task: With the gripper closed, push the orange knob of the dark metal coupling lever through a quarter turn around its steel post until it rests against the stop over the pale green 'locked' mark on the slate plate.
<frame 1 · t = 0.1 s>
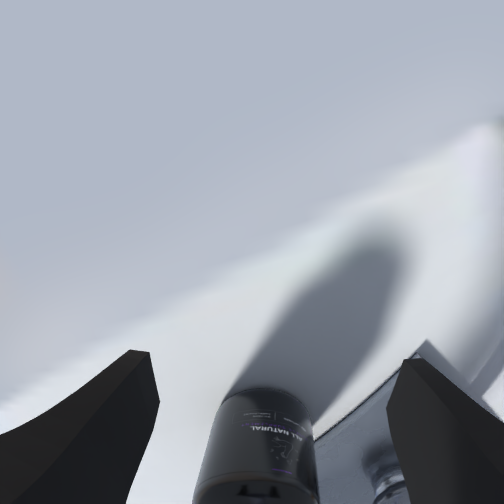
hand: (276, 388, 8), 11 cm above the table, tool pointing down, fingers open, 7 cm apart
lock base: (390, 470, 21), on the table
supplement bottle: (261, 419, 21), on the table
coupling: (434, 490, 16), point 5 cm above the table, hinge at 0.0°
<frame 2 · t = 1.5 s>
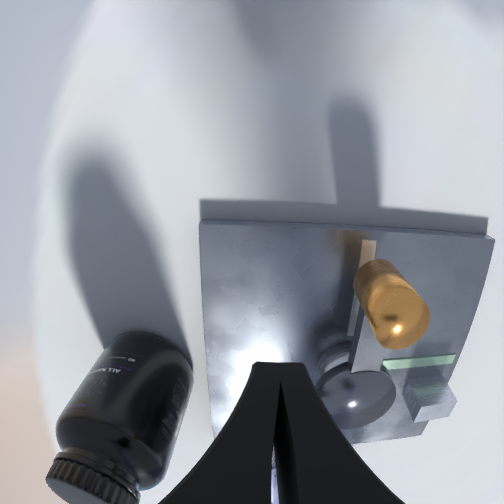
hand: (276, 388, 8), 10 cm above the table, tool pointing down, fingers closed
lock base: (343, 356, 20), on the table
supplement bottle: (150, 365, 22), on the table
coupling: (370, 371, 15), point 5 cm above the table, hinge at 0.0°
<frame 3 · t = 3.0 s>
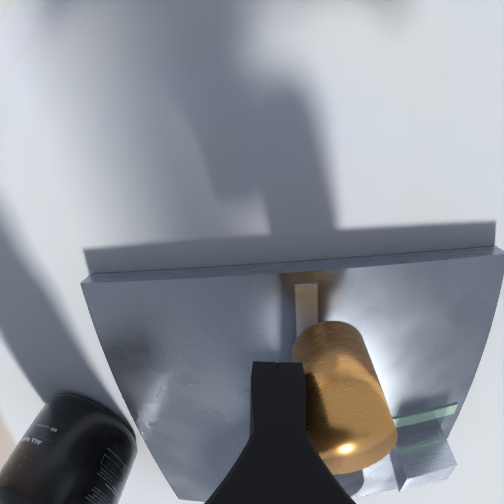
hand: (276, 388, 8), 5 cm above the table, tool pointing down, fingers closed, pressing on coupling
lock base: (304, 419, 15), on the table
supplement bottle: (93, 424, 17), on the table
coupling: (319, 468, 9), point 5 cm above the table, hinge at 4.5°, touching gripper
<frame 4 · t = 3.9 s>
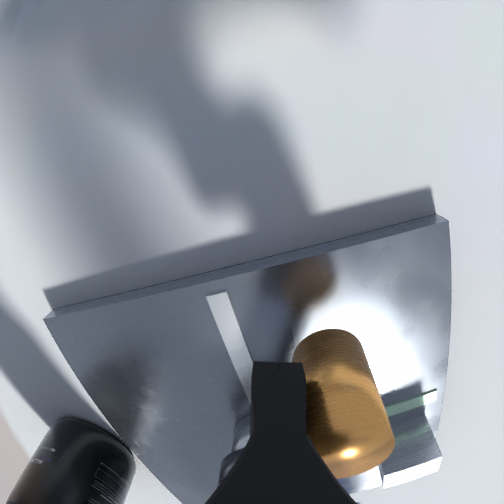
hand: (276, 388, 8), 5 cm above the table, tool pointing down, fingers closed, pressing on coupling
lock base: (273, 421, 15), on the table
supplement bottle: (95, 444, 18), on the table
coupling: (293, 471, 10), point 5 cm above the table, hinge at 29.0°, touching gripper
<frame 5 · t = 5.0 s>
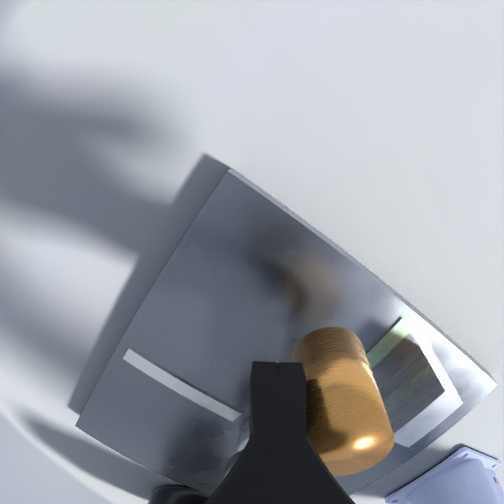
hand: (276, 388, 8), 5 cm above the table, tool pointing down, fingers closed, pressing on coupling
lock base: (278, 421, 15), on the table
supplement bottle: (192, 500, 20), on the table
coupling: (296, 470, 10), point 5 cm above the table, hinge at 65.4°, touching gripper
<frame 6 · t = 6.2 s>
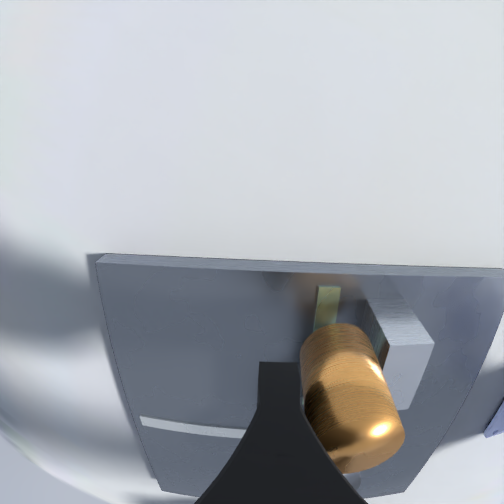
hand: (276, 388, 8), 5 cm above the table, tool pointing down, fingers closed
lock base: (302, 420, 15), on the table
coupling: (320, 468, 10), point 5 cm above the table, hinge at 90.9°, touching gripper
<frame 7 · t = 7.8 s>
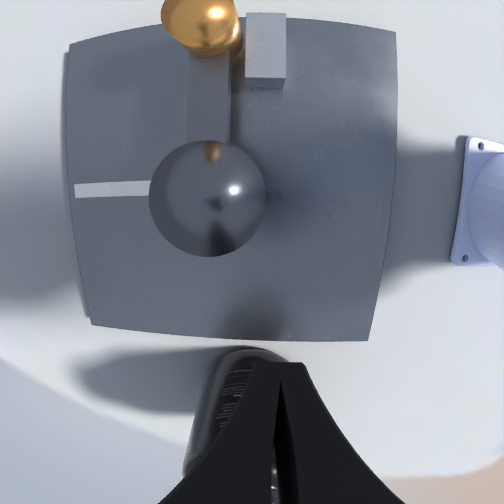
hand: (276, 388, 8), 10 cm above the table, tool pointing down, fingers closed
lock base: (221, 184, 17), on the table
supplement bottle: (253, 380, 22), on the table
coupling: (203, 127, 11), point 5 cm above the table, hinge at 91.1°
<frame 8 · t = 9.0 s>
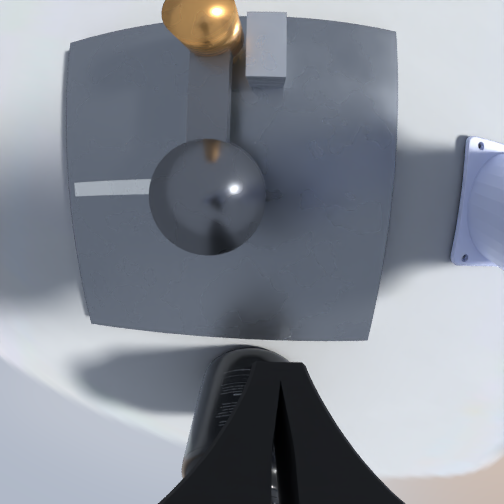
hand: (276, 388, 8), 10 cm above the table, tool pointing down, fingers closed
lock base: (221, 183, 17), on the table
supplement bottle: (253, 380, 22), on the table
coupling: (203, 125, 11), point 5 cm above the table, hinge at 91.1°
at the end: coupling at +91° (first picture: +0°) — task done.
